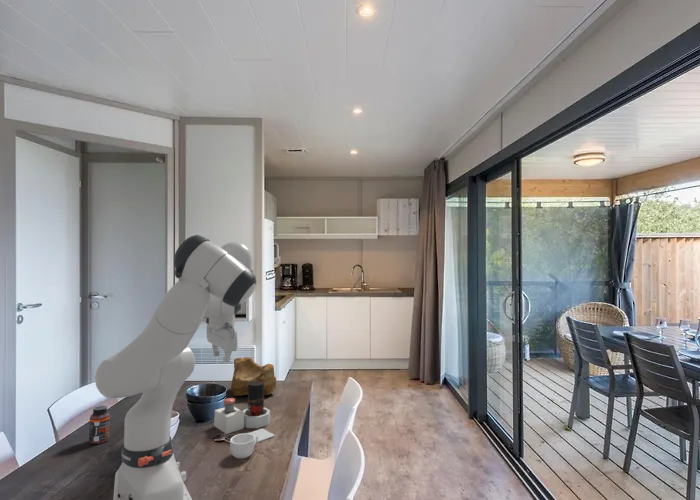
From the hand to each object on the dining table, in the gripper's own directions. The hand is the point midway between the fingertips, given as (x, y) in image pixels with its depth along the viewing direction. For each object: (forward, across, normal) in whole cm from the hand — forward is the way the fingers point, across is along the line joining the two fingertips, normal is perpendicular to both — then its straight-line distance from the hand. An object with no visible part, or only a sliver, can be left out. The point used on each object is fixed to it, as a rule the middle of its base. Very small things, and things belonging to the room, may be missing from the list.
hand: (221, 358), depth 153 cm
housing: (+26, -2, -9) cm, 27 cm away
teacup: (+26, -23, +1) cm, 35 cm away
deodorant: (+26, -2, -13) cm, 29 cm away
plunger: (+22, 0, -3) cm, 22 cm away
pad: (+26, -14, -9) cm, 31 cm away
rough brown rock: (+26, +29, -25) cm, 47 cm away
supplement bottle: (+26, +16, +36) cm, 47 cm away
